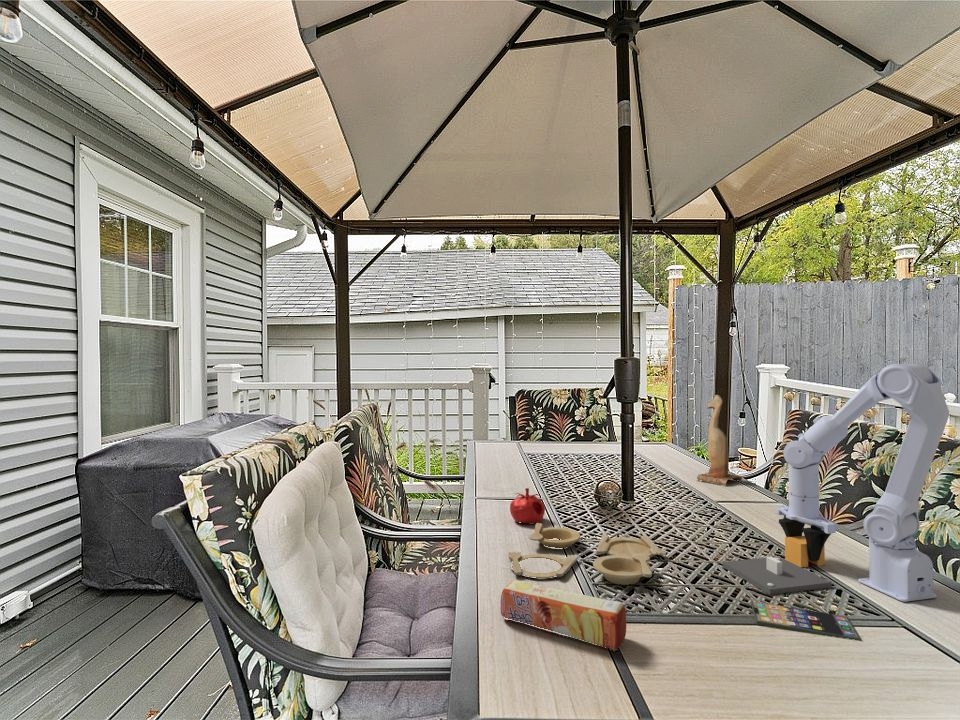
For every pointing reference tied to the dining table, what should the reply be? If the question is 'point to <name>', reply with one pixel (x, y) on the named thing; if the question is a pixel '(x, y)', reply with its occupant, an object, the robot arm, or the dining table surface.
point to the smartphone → (803, 620)
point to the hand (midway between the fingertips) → (804, 555)
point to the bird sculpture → (717, 449)
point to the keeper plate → (776, 575)
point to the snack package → (566, 613)
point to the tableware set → (616, 568)
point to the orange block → (800, 552)
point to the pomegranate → (527, 508)
